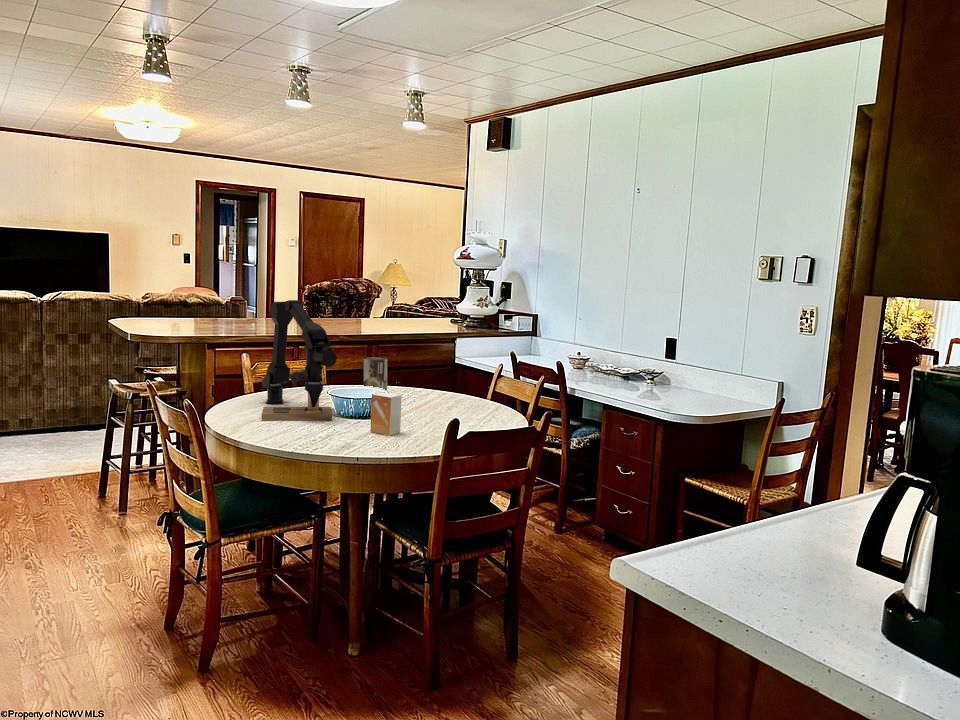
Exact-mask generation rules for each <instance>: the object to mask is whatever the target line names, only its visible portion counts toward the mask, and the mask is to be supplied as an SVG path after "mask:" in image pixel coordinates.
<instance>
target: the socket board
mask: <svg viewBox="0 0 960 720" xmlns="http://www.w3.org/2000/svg"><path fill="white" fill-rule="evenodd" d="M261 421H264V422H265V421H267V422H268V421H270V422H271V421H272V422H273V421H279V422H281V421H282V422H283V421H289V422H290V421H295V422H296V421H297V422H298V421H302V422H303V421H307V422H309V421H315V422H316V421H317V422H318V421H321V422H323V421H325V422H327V421H330V422H331V421H333V408H332V406H319V411H308V406H263V408H262V411H261Z"/></svg>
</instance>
